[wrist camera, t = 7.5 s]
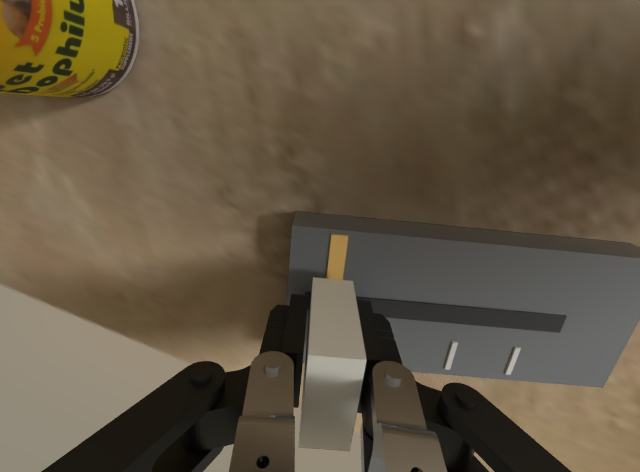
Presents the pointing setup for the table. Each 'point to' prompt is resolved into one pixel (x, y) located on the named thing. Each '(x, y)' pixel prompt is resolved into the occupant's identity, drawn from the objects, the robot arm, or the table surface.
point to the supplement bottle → (66, 46)
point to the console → (480, 295)
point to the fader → (332, 367)
